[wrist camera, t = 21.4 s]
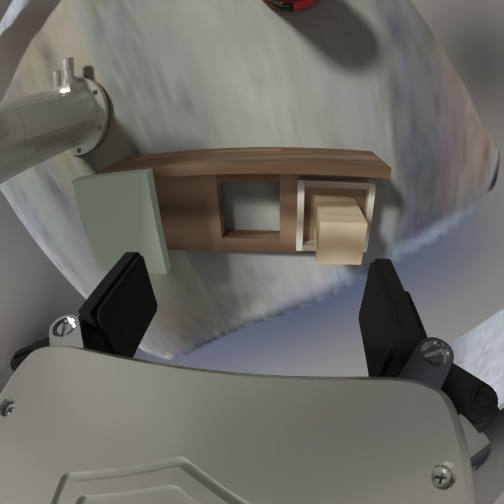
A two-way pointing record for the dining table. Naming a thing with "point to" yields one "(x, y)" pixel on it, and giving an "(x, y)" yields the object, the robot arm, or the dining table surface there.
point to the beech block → (338, 230)
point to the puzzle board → (254, 170)
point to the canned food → (290, 4)
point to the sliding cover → (122, 218)
